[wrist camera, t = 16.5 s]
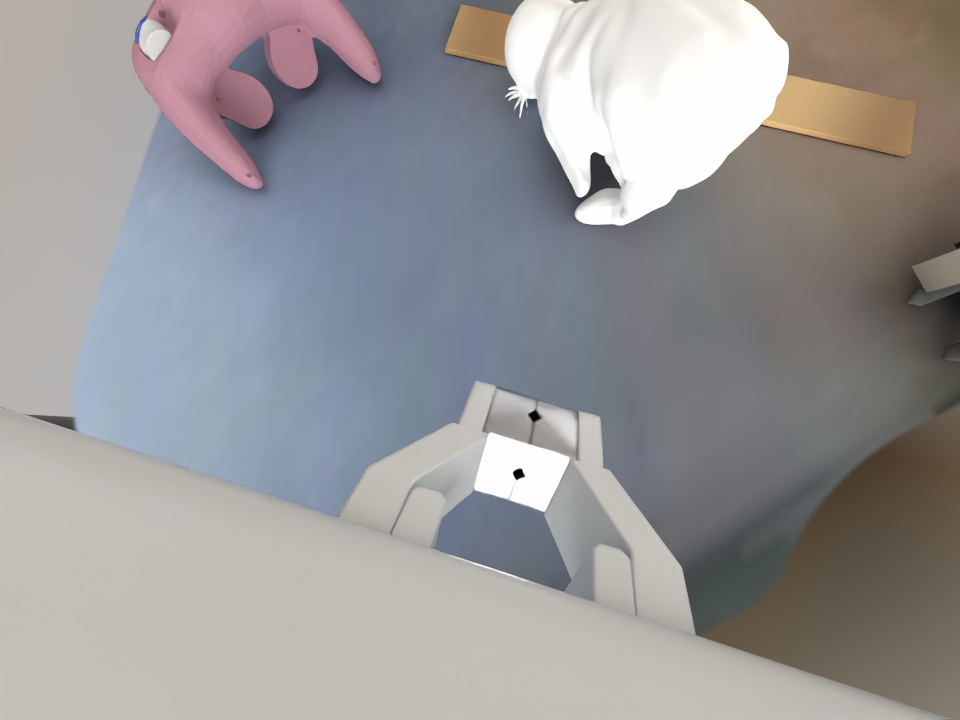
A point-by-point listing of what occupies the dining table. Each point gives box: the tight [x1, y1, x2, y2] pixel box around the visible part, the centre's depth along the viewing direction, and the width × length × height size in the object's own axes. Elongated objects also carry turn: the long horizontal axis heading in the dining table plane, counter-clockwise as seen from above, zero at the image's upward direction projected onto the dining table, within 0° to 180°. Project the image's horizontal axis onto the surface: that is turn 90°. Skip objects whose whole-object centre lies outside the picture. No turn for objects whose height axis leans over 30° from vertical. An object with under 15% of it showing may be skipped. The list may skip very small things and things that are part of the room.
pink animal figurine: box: [132, 0, 381, 189], centre depth 19 cm, size 10×5×7 cm, turn 137°
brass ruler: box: [445, 4, 917, 157], centre depth 21 cm, size 24×3×1 cm, turn 73°
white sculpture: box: [504, 0, 789, 225], centre depth 17 cm, size 6×8×12 cm
